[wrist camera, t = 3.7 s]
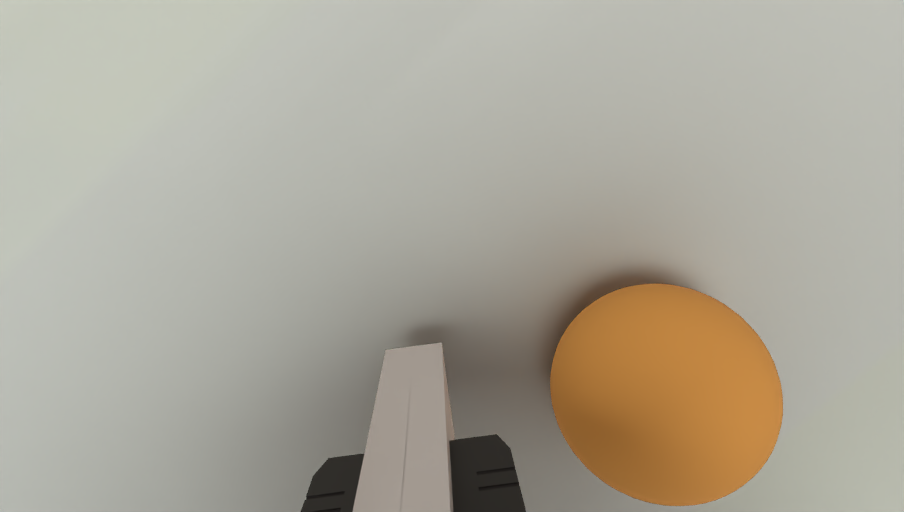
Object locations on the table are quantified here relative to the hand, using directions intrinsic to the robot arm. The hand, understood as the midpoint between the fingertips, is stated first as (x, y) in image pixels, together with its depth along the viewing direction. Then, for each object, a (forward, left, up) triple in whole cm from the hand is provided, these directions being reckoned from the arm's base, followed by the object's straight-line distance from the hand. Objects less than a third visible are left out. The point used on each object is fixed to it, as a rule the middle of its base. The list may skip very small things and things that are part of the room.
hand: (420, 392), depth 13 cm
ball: (0, -6, +1) cm, 6 cm away
